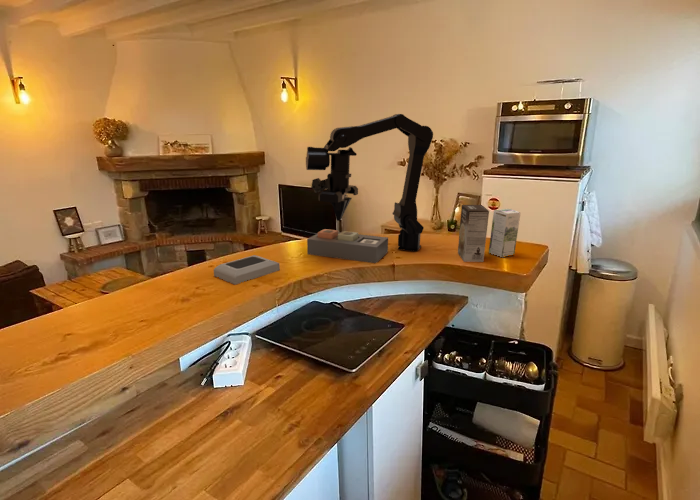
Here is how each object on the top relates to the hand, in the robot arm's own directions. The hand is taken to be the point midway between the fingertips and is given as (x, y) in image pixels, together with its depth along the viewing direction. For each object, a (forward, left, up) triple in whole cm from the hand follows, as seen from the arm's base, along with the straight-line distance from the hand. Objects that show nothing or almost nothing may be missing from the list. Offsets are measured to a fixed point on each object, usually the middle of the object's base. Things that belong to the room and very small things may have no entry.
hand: (338, 220), depth 132 cm
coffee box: (-40, -12, -11) cm, 43 cm away
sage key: (-3, -1, -7) cm, 8 cm away
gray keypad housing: (-3, -1, -11) cm, 11 cm away
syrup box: (-49, -19, -11) cm, 54 cm away
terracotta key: (+4, -1, -7) cm, 8 cm away
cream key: (-10, -1, -9) cm, 13 cm away
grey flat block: (+16, +28, -11) cm, 34 cm away
